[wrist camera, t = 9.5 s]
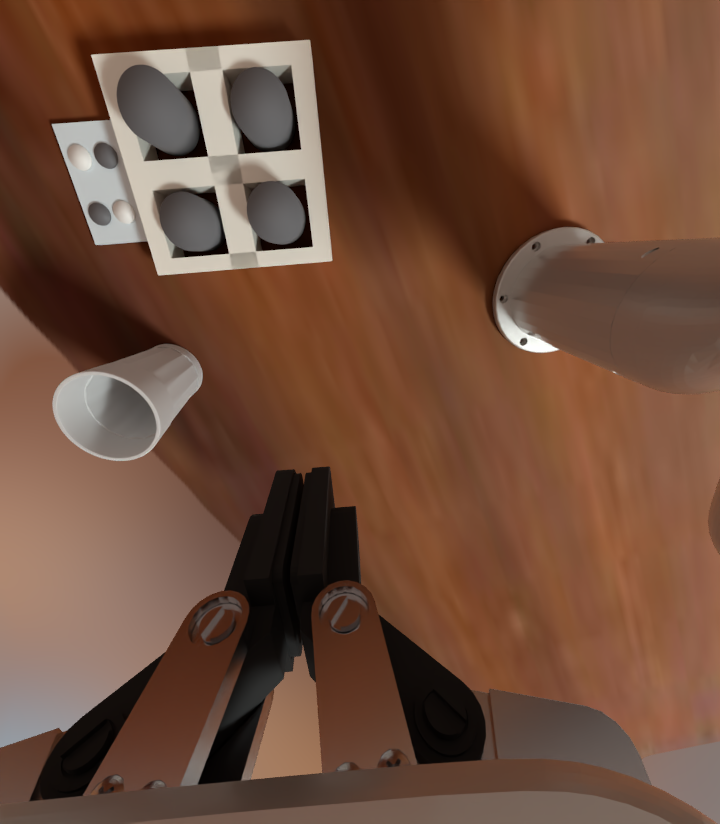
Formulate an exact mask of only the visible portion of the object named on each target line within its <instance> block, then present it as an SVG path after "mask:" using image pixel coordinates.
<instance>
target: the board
mask: <svg viewBox="0 0 720 824" xmlns="http://www.w3.org/2000/svg"><path fill="white" fill-rule="evenodd" d="M91 57H92V60H93V63H94V66H95V70H96V73H97V76H98V80H99V83H100V86H101V89H102V93H103V96H104V99H105V103H106V106H107V109H108V112H109V116H110V119H111V122H112V125H113V129H114V132H115V135H116V139H117V142H118V145H119V148H120V152H121V155H122V158H123V162H124V165H125V168H126V171H127V175H128V178H129V181H130V185H131V188H132V191H133V194H134V198H135V201H136V204H137V208H138V211H139V214H140V217H141V221H142V224H143V227H144V231H145V234H146V237H147V240H148V244H149V247H150V250H151V253H152V257H153V260H154V263H155V267H156V270H157V273H158V275H170V274H182V273H194V272H206V271H218V270H230V269H242V268H254V267H267V266H279V265H291V264H303V263H315V262H327V261H333V260H332V250H331V240H330V230H329V220H328V210H327V199H326V189H325V179H324V169H323V159H322V149H321V139H320V129H319V119H318V109H317V99H316V89H315V79H314V68H313V59H312V51H311V44H310V40H299V41H284V42H270V43H255V44H240V45H226V46H211V47H197V48H182V49H167V50H153V51H138V52H123V53H109V54H94V55H91ZM134 65H148V66H151V67H153V68H155V69H157V70H159V71H160V72H161V73H163V74H164V75H165V76H166V77H167V78H168V79H169V80H170V81H171V82H172V83H173V84H174V85H175V86H176V87H177V88H178V89H179V90H180V91H189V90H194V93H195V98H196V103H197V107H198V112H199V116H200V121H201V126H202V130H203V135H204V140H205V144H206V149H207V153H208V157H196V158H183V159H170V160H159V159H158V156H157V152H156V148H155V146H153V145H151V144H149V143H148V142H146V141H144V140H143V139H141V138H139V137H138V136H137V135H136V134H134V133H133V132H132V131H131V129H130V128H129V127H128V126H127V124H126V123H125V121H124V119H123V118H122V115H121V113H120V110H119V107H118V103H117V85H118V82H119V79H120V77H121V75H122V74H123V72H124V71H125V70H127V69H128V68H129V67H131V66H134ZM252 67H260V68H264V69H267V70H269V71H271V72H272V73H273V74H275V75H276V76H277V77H278V79H279V80H280V81H281V82H282V84H288V83H293V84H294V93H295V101H296V109H297V118H298V126H299V134H300V143H301V150H289V151H276V152H263V153H249V154H245V151H244V145H243V140H242V134H241V129H240V127H239V126H238V124H237V123H236V121H235V118H234V116H233V113H232V109H231V90H232V87H233V84H234V82H235V80H236V78H237V77H238V75H239V74H240V73H242V72H243V71H244V70H246V69H248V68H252ZM266 181H277V182H280V183H282V184H284V185H286V186H288V187H292V186H305V185H306V193H307V201H308V209H309V218H310V226H311V234H312V243H313V247H306V248H294V249H282V250H270V251H262V247H261V241H260V237H259V236H258V235H257V234H256V233H255V231H254V230H253V229H252V227H251V225H250V223H249V220H248V216H247V202H248V198H249V195H250V194H251V192H252V190H253V189H254V188H255V187H256V186H258V185H259V184H261V183H263V182H266ZM174 192H188V193H191V194H201V193H214V192H216V195H217V200H218V204H219V209H220V214H221V218H222V223H223V227H224V232H225V237H226V241H227V246H228V251H229V254H220V255H208V256H196V257H185V256H184V253H183V249H181V248H179V247H177V246H176V245H174V244H173V243H172V242H171V241H170V240H169V239H168V238H167V236H166V235H165V233H164V231H163V229H162V227H161V223H160V217H159V213H160V207H161V204H162V202H163V201H164V199H165V198H166V197H167V196H168V195H170V194H172V193H174Z"/></svg>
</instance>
